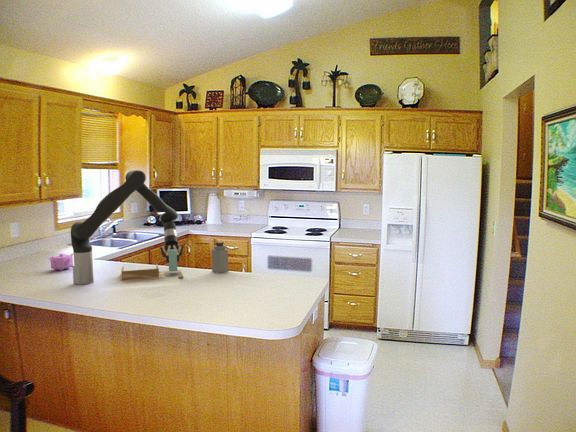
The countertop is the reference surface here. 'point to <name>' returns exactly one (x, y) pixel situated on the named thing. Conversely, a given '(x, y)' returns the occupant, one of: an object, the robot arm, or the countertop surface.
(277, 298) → the countertop surface
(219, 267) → the perfume bottle
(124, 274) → the stand
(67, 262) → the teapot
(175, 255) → the block
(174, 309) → the countertop surface
